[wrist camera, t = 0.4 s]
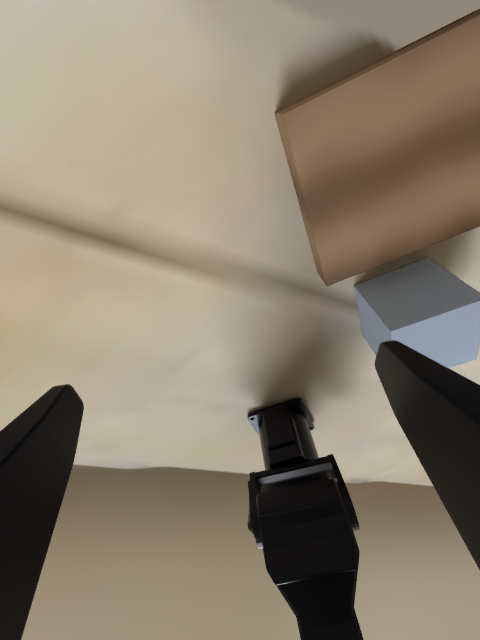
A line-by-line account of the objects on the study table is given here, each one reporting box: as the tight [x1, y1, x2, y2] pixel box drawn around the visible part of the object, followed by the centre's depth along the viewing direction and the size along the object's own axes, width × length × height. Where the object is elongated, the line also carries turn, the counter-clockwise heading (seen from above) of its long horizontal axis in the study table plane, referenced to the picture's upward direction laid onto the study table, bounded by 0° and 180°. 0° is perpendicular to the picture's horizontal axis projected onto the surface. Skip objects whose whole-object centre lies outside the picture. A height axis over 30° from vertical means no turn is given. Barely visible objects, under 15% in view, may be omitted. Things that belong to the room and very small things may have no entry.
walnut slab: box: [275, 9, 480, 286], centre depth 18 cm, size 11×11×2 cm
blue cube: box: [354, 257, 480, 368], centre depth 22 cm, size 6×6×6 cm
